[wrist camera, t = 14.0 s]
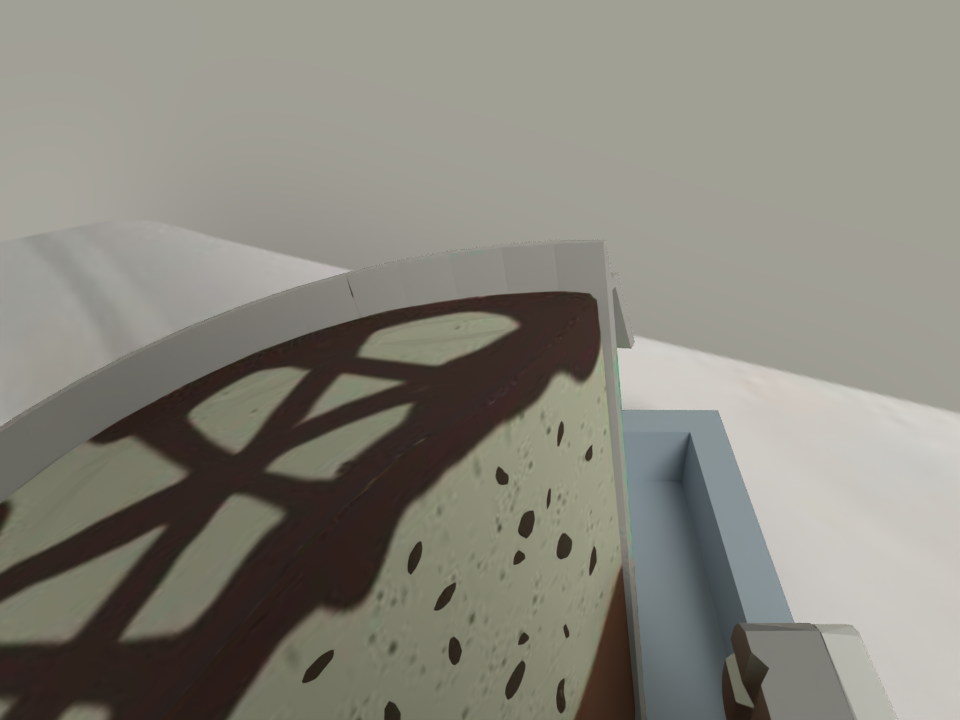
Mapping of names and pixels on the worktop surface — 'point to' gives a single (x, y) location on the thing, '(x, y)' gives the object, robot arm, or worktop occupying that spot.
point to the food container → (337, 507)
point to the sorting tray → (692, 558)
